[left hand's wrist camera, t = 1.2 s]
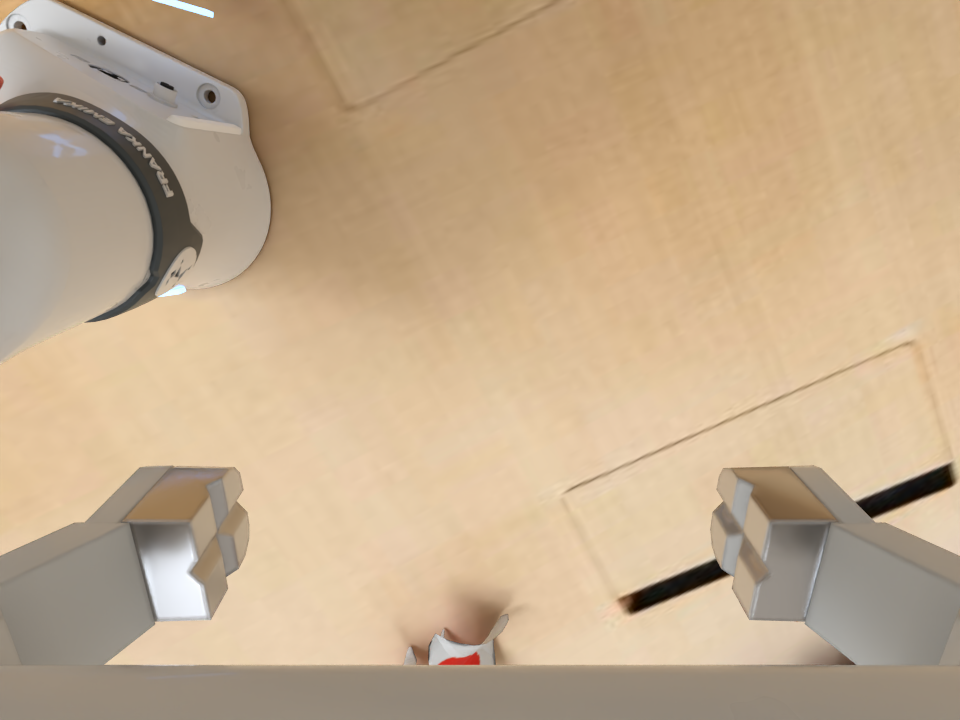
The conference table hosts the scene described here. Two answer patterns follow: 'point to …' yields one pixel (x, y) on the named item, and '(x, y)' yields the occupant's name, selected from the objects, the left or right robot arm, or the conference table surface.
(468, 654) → the red and white toy
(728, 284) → the conference table surface
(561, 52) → the conference table surface
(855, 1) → the conference table surface
